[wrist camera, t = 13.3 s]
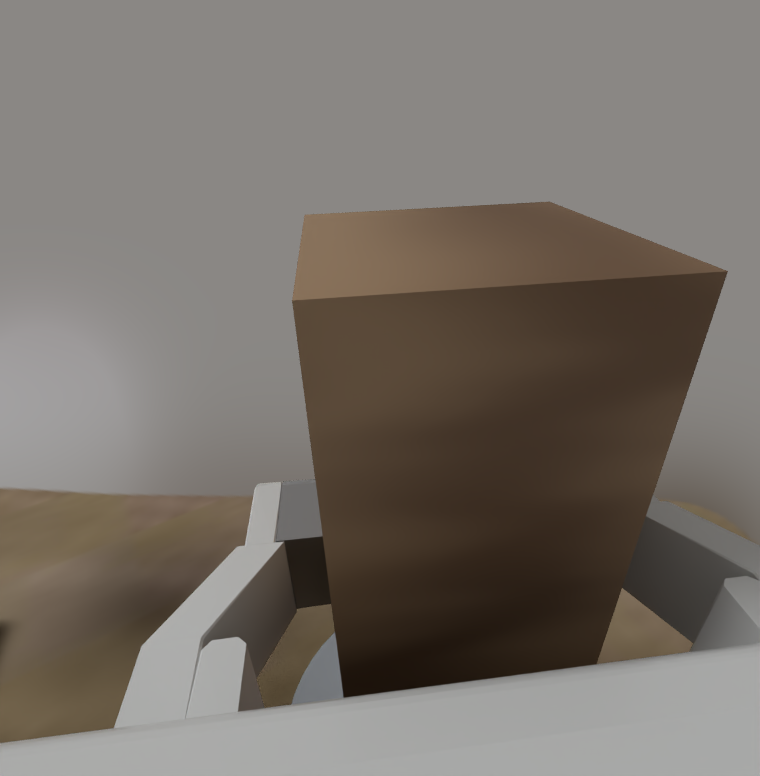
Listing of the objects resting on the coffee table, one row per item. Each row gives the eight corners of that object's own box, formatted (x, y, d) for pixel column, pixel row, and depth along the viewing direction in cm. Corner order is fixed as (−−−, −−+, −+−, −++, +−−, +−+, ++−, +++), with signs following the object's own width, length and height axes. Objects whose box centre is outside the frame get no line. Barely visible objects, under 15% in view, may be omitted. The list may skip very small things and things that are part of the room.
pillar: (359, 822, 11) (291, 300, 5) (349, 634, 14) (304, 215, 8) (553, 793, 11) (727, 271, 5) (492, 617, 15) (549, 201, 9)
